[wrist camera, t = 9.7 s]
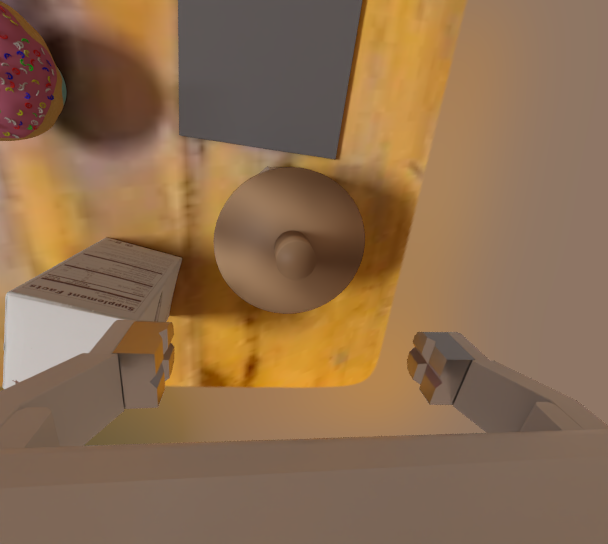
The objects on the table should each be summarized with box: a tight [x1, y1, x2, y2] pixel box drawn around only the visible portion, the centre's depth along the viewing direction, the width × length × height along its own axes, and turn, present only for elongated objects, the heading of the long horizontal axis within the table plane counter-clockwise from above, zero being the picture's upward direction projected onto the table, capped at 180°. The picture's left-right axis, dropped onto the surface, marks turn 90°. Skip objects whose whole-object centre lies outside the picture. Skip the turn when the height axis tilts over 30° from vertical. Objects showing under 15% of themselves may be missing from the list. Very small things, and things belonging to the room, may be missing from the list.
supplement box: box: [3, 238, 182, 389], centre depth 25 cm, size 7×7×13 cm
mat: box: [178, 0, 362, 159], centre depth 25 cm, size 14×14×1 cm
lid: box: [214, 167, 365, 314], centre depth 23 cm, size 12×12×4 cm
